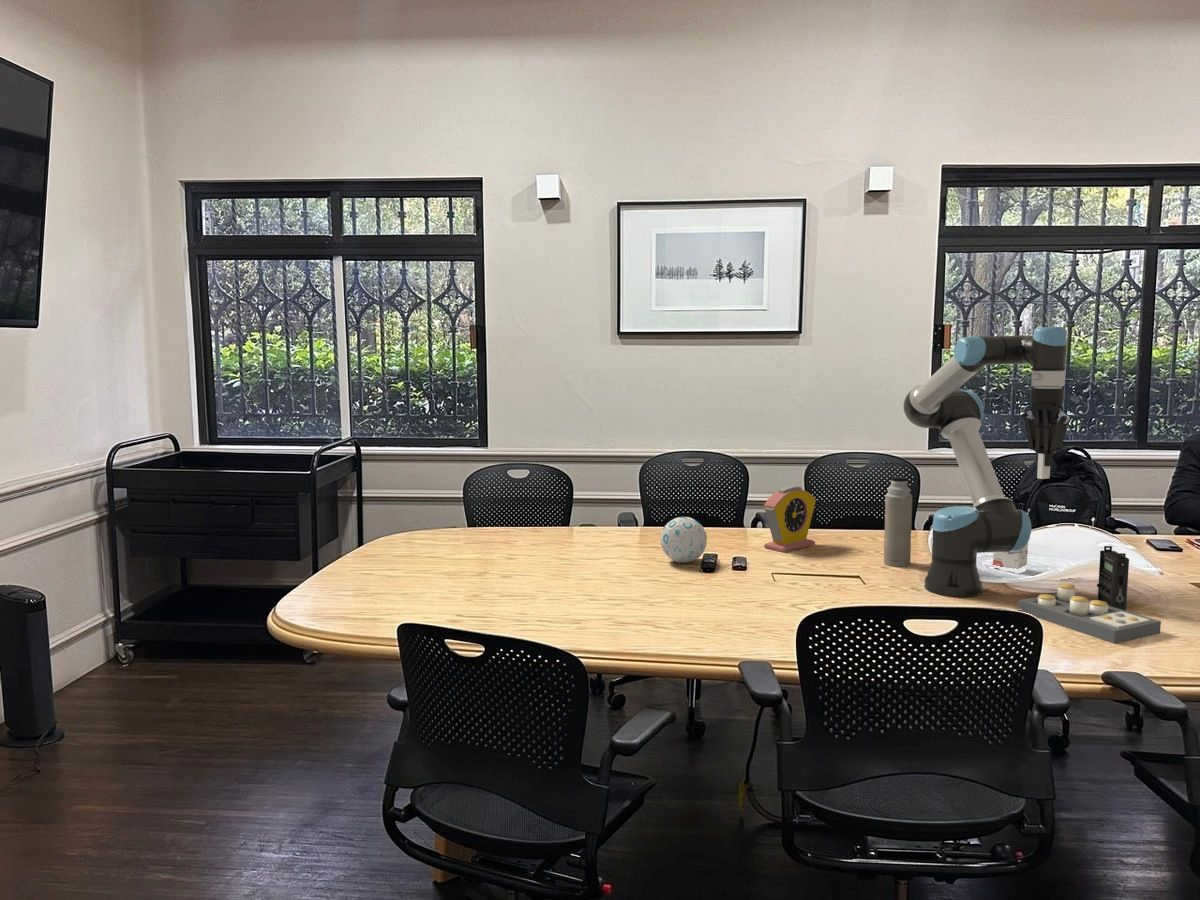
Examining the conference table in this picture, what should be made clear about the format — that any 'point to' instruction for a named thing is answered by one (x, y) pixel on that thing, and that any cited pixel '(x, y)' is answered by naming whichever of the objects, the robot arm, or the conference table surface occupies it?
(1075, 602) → the white jar yellow lid
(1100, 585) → the geiger counter
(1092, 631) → the button board
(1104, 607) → the yellow topped white button
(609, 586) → the conference table surface
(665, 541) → the puzzle ball
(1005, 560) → the ink cartridge box
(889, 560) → the thermos bottle
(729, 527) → the conference table surface
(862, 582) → the conference table surface
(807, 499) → the yellow mantel clock
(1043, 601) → the button
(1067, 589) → the button
